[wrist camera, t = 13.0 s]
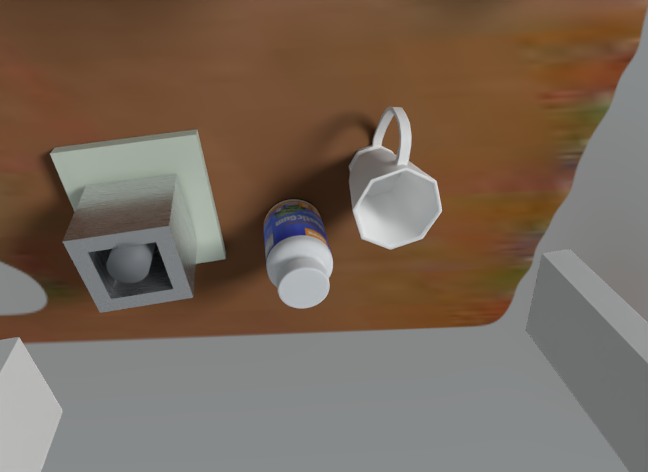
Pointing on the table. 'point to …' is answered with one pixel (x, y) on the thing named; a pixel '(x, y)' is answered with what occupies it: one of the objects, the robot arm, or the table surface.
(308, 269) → the pill bottle
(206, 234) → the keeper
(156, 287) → the hollow grey square tube
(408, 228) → the cup
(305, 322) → the table surface
